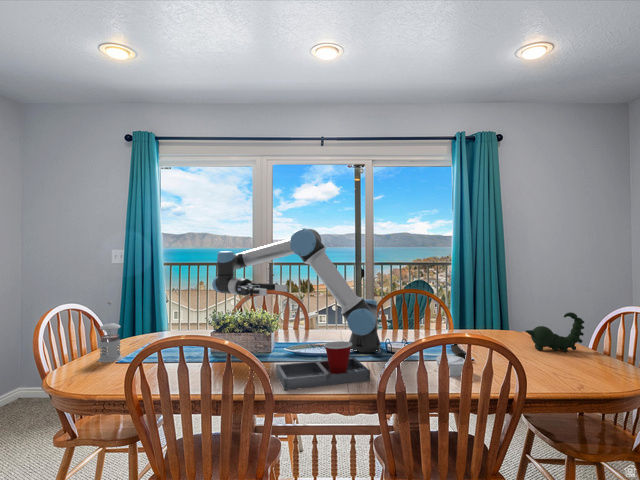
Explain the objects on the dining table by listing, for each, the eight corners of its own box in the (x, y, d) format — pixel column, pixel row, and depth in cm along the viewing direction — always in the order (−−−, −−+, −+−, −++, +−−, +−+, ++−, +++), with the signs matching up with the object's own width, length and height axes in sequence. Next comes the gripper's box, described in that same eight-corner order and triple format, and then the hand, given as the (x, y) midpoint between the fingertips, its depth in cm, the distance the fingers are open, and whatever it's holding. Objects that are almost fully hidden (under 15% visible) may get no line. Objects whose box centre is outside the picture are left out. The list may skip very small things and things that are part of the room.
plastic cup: (337, 368, 164) (337, 337, 163) (358, 375, 156) (358, 343, 155) (317, 374, 156) (317, 343, 156) (337, 382, 148) (337, 349, 148)
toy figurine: (573, 351, 195) (519, 345, 196) (577, 311, 194) (523, 306, 196) (585, 357, 185) (528, 351, 187) (589, 315, 185) (532, 310, 186)
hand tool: (467, 362, 174) (467, 351, 174) (457, 361, 175) (457, 350, 175) (458, 349, 193) (458, 339, 193) (449, 349, 194) (449, 339, 194)
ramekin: (467, 379, 154) (467, 365, 154) (436, 376, 157) (436, 362, 157) (464, 369, 165) (465, 356, 165) (435, 366, 168) (435, 353, 168)
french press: (100, 363, 171) (100, 303, 171) (93, 357, 180) (93, 300, 179) (126, 359, 178) (125, 301, 177) (118, 353, 186) (117, 297, 186)
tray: (354, 367, 167) (354, 357, 167) (370, 381, 151) (370, 370, 151) (276, 374, 158) (276, 364, 158) (284, 390, 143) (284, 379, 143)
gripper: (259, 291, 197) (294, 295, 185) (219, 298, 176) (256, 303, 164) (259, 275, 196) (294, 278, 185) (219, 281, 176) (256, 284, 164)
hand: (276, 290), depth 174 cm, fingers open, 13 cm apart
